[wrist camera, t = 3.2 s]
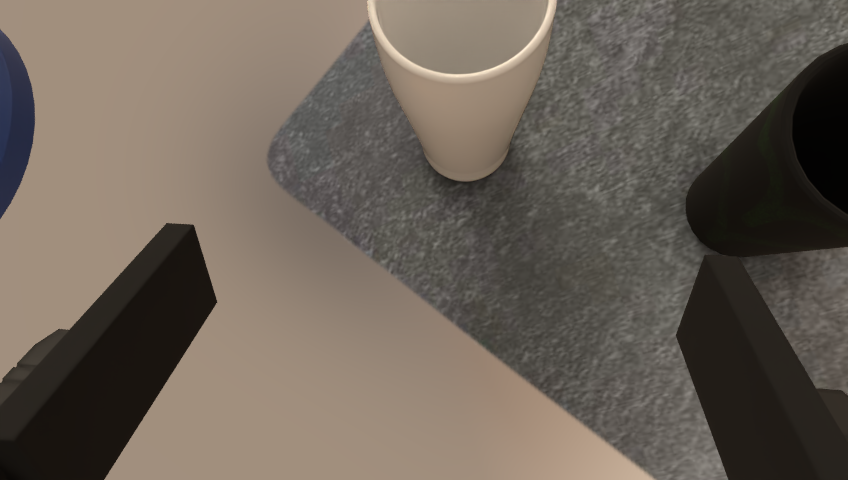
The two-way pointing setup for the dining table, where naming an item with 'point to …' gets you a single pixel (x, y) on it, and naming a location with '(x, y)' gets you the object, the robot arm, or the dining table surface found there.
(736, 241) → the cup
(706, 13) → the dining table surface
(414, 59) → the drinking glass
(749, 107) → the dining table surface
